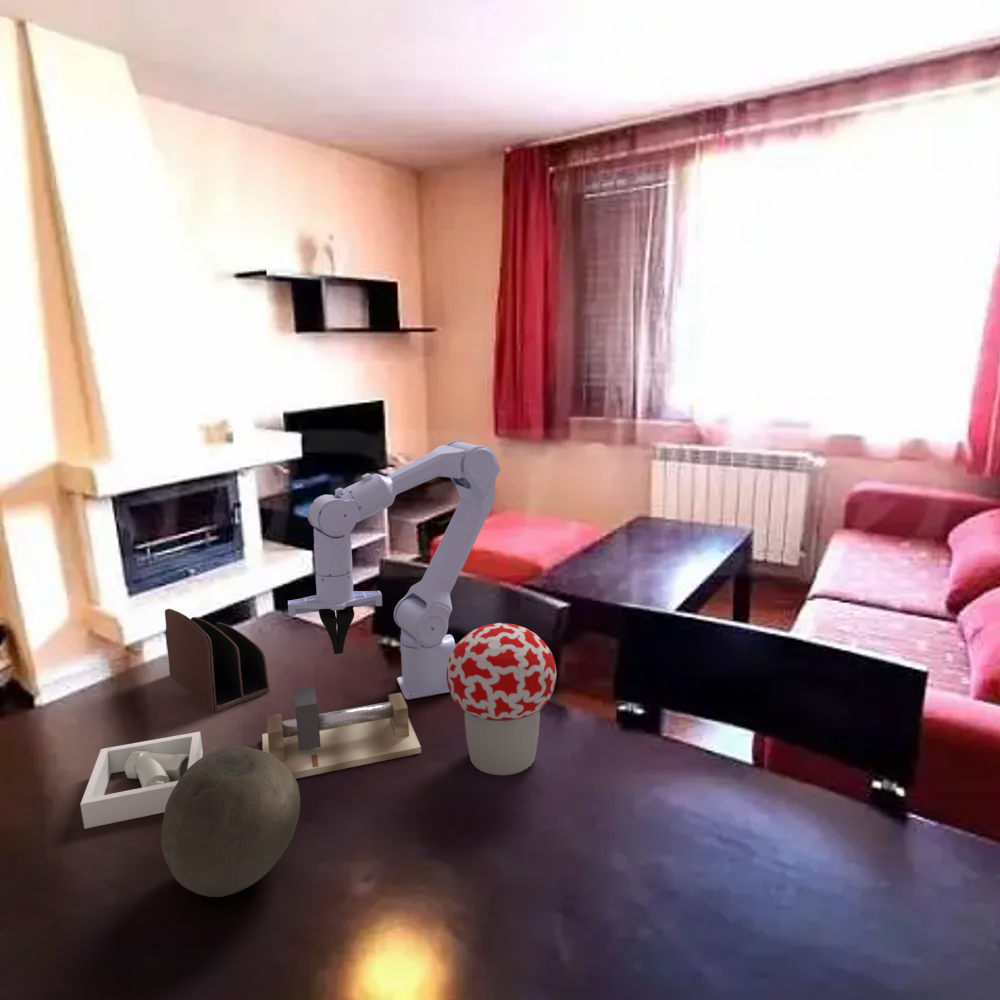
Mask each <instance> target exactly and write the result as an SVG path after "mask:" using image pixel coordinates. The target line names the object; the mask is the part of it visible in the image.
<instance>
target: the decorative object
mask: <svg viewBox="0 0 1000 1000" xmlns="http://www.w3.org/2000/svg"><path fill="white" fill-rule="evenodd" d="M455 645H456V646H455V648H454V650H453V651H452V653H451V655H450V658H449V661H448V664H447V676H446V678H447V684H448V688H449V691H450V692H449V693H450V695H451V698H452V700H453V701H454V703H456V704H457V706H459V708H460V709H461V710H462V711H464V727H465V734H466V735H465V736H466V744H467V749H468V754H469V759H470V762H471V763H472V765H473V766H474V767H475V768H476V769H477V770H479V771H481V772H483V773H486V774H489V775H493V776H510V775H516V774H519V773H522V772H524V771H525V769H526V770H527V769H529V768H530V767H531V766H532V765H533V764H534V762H535V760H536V754H537V750H538V749H537V748H538V741H539V731H540V719H541V715H540V714H541V713H540V710H542V708H543V707H544V706H545V705H546V704H547V703H548V702H549V700H551V697H552V695H553V692H554V690H555V688H556V687H555V686H556V681H557V667H556V661H555V658H554V656H553V653H552V651H551V650H550V648H549V646H547V643H546V642H545V641H544V640H543V639H542V638H540V636H539V635H538V634H537V633H535V632H533V631H531V630H530V629H528V628H526V627H524V626H521V625H517V624H512V623H509V622H508V623H506V622H497V623H495V622H494V623H490V624H486V625H482V626H480V627H478V628H475V629H473V630H472V631H470V632H469V633H466V634H465V635H464V637H462V639H461V640H459V641H458V643H456V644H455ZM532 763H533V764H532ZM528 767H529V768H528ZM523 770H524V771H523Z"/></svg>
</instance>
